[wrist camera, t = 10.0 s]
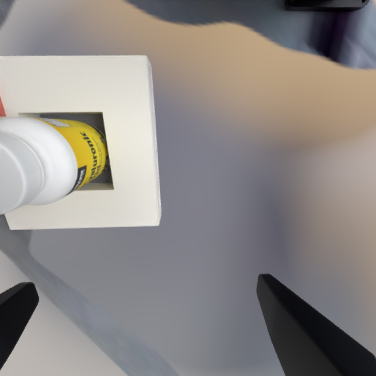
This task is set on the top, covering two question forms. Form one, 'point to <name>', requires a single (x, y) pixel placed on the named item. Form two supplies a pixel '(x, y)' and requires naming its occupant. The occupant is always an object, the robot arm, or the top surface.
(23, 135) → the supplement bottle
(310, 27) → the top surface
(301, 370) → the robot arm
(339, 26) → the top surface
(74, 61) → the socket plate
